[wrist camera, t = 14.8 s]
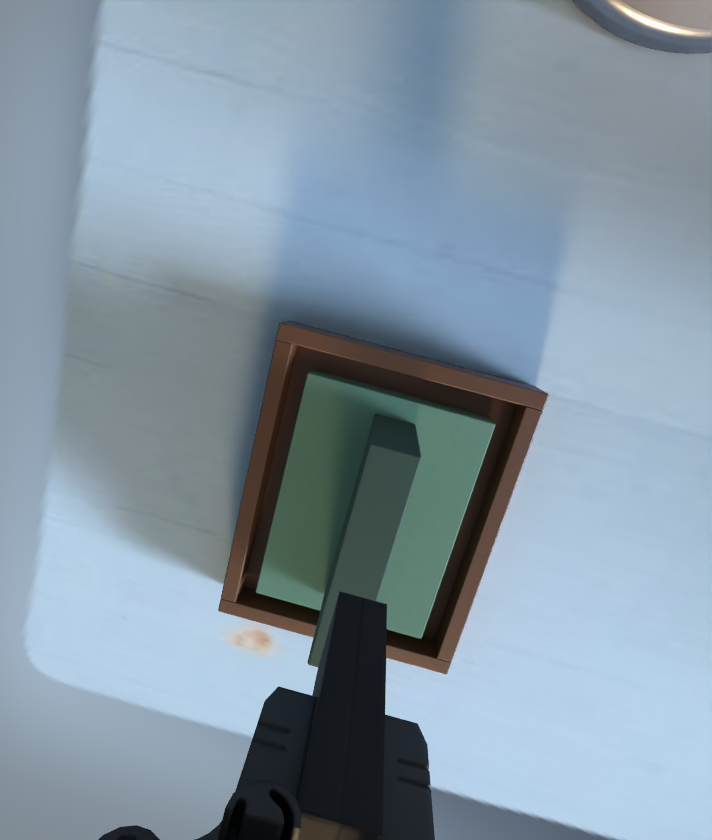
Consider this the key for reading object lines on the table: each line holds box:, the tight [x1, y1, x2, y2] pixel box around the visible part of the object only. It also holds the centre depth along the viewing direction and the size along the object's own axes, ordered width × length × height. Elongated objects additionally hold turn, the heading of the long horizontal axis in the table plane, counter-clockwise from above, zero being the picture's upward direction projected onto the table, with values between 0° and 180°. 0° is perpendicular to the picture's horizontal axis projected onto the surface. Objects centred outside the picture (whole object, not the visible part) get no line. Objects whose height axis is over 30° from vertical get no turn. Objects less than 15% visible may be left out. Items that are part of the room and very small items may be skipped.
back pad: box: [256, 369, 495, 667], centre depth 22 cm, size 12×9×6 cm
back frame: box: [218, 321, 548, 674], centre depth 24 cm, size 16×13×2 cm
